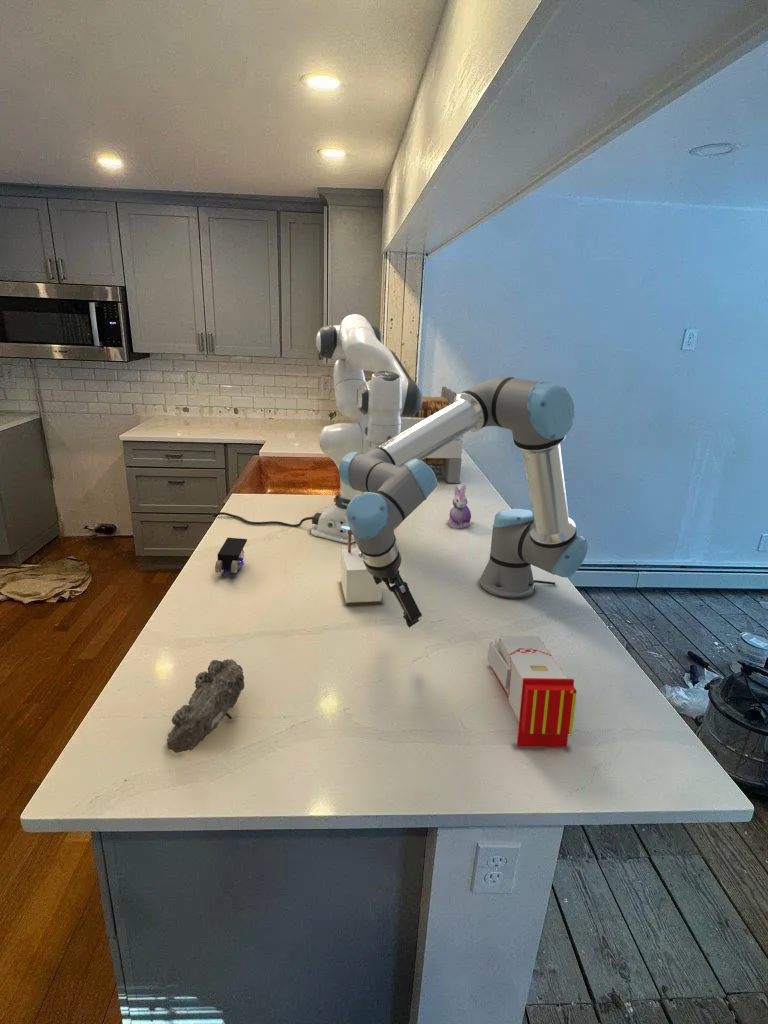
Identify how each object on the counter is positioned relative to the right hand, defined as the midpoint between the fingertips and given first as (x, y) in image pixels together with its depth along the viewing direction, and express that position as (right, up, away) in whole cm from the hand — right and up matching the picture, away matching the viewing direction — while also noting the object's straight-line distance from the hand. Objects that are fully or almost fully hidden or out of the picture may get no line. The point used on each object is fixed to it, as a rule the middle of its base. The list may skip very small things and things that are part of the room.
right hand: (396, 601), depth 129 cm
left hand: (-3, +29, +28) cm, 40 cm away
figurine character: (-48, +3, +38) cm, 61 cm away
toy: (+26, -18, -12) cm, 34 cm away
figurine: (+25, +16, +82) cm, 87 cm away
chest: (-9, -2, +28) cm, 30 cm away
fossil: (-36, -19, -21) cm, 45 cm away
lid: (-9, +7, +25) cm, 28 cm away
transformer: (+14, +39, +146) cm, 151 cm away
